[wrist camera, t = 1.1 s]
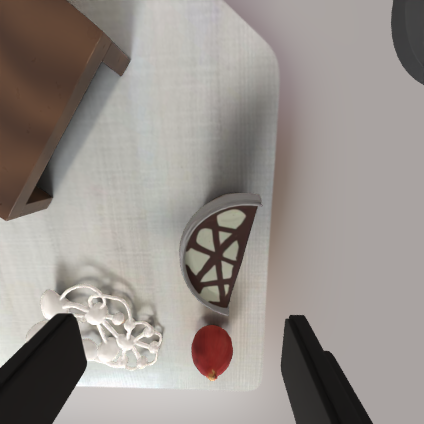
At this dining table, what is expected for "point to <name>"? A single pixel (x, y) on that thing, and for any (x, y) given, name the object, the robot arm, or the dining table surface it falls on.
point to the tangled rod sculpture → (96, 316)
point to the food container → (217, 247)
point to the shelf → (42, 90)
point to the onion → (212, 351)
